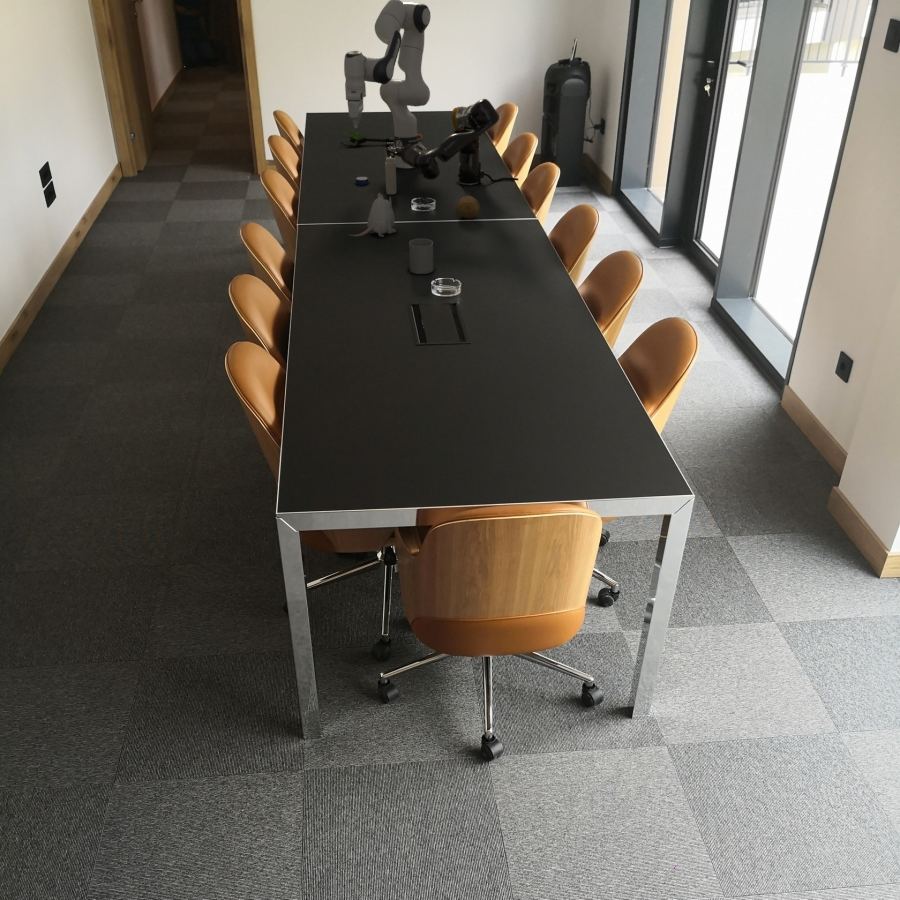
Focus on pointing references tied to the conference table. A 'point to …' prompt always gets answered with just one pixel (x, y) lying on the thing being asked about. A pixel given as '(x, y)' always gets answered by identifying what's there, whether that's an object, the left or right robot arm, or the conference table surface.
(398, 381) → the conference table surface
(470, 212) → the potato
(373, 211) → the toy
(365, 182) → the lid
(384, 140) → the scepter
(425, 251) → the cup
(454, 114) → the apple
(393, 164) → the jar
